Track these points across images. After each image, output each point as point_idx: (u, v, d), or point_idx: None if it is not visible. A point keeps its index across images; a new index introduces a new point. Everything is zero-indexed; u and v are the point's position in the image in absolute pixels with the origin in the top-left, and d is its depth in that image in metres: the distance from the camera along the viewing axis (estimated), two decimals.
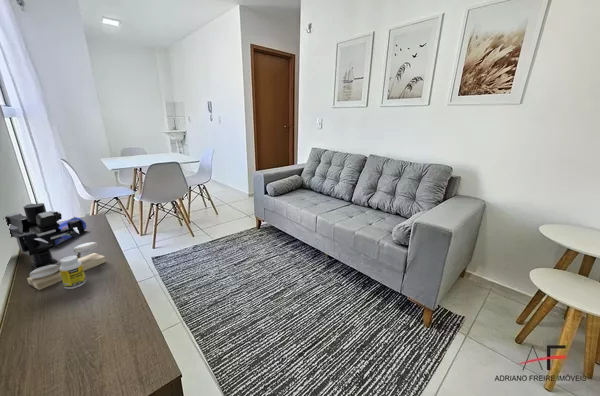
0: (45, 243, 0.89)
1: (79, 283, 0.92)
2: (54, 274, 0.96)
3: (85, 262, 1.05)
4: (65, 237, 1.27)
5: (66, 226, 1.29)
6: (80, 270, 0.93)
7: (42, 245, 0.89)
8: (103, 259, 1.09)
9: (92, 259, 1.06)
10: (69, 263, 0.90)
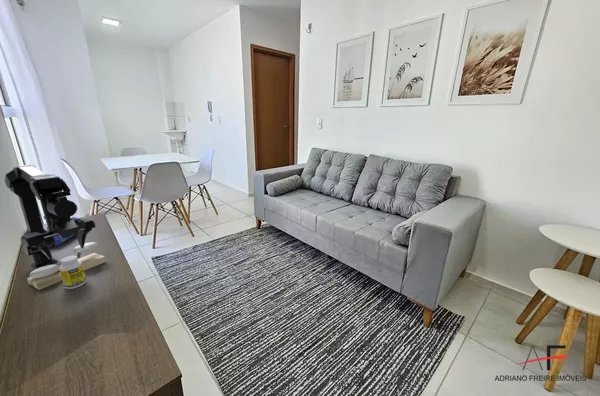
0: (48, 257, 0.86)
1: (79, 283, 0.92)
2: (54, 274, 0.96)
3: (85, 262, 1.05)
4: None
5: None
6: (80, 270, 0.93)
7: (44, 253, 0.85)
8: (103, 259, 1.09)
9: (92, 259, 1.06)
10: (69, 263, 0.90)
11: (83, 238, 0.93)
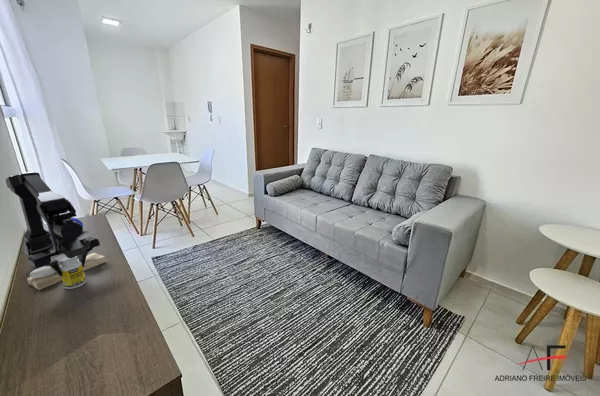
0: (59, 274, 0.89)
1: (79, 283, 0.92)
2: (54, 274, 0.96)
3: (85, 262, 1.05)
4: None
5: None
6: (80, 270, 0.93)
7: (55, 271, 0.88)
8: (103, 259, 1.09)
9: (92, 259, 1.06)
10: (69, 263, 0.90)
11: (83, 258, 0.94)
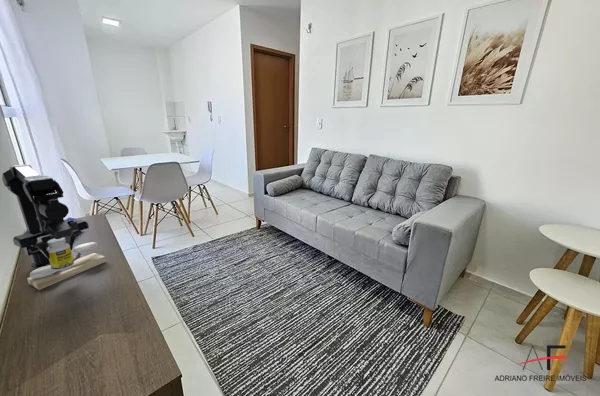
0: (46, 256, 0.88)
1: (67, 265, 0.91)
2: (54, 274, 0.96)
3: (85, 262, 1.05)
4: None
5: None
6: (68, 252, 0.91)
7: (42, 252, 0.87)
8: (103, 259, 1.09)
9: (92, 259, 1.06)
10: (56, 245, 0.88)
11: (72, 240, 0.93)
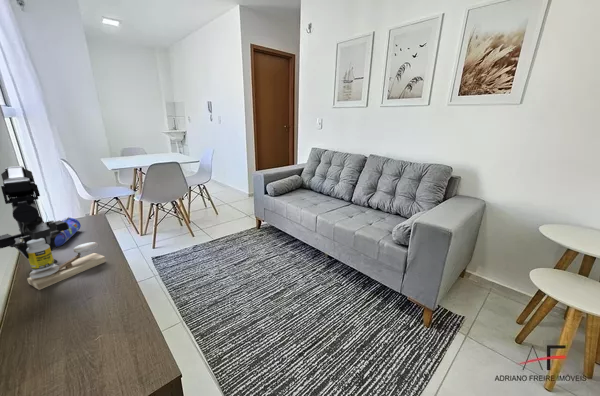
0: (25, 256, 0.89)
1: (47, 266, 0.93)
2: (54, 274, 0.96)
3: (85, 262, 1.05)
4: (69, 236, 1.28)
5: None
6: (48, 253, 0.93)
7: None
8: (103, 259, 1.09)
9: (92, 259, 1.06)
10: (35, 245, 0.90)
11: (52, 241, 0.94)
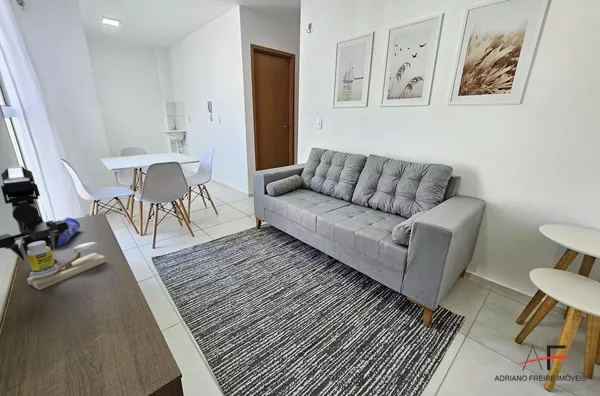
0: (20, 258, 0.88)
1: (47, 268, 0.93)
2: (54, 274, 0.96)
3: (85, 262, 1.05)
4: (69, 236, 1.28)
5: None
6: (49, 255, 0.93)
7: (16, 254, 0.88)
8: (103, 259, 1.09)
9: (92, 259, 1.06)
10: (36, 248, 0.90)
11: (56, 240, 0.95)
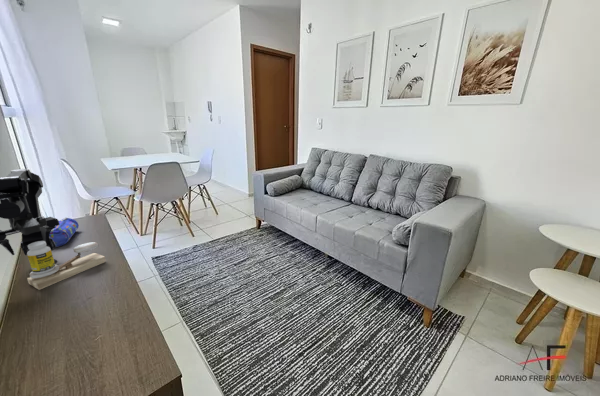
0: (11, 253, 0.91)
1: (47, 268, 0.93)
2: (54, 274, 0.96)
3: (85, 262, 1.05)
4: (70, 236, 1.28)
5: (67, 225, 1.30)
6: (49, 255, 0.93)
7: (6, 249, 0.90)
8: (103, 259, 1.09)
9: (92, 259, 1.06)
10: (36, 248, 0.90)
11: (47, 235, 0.98)
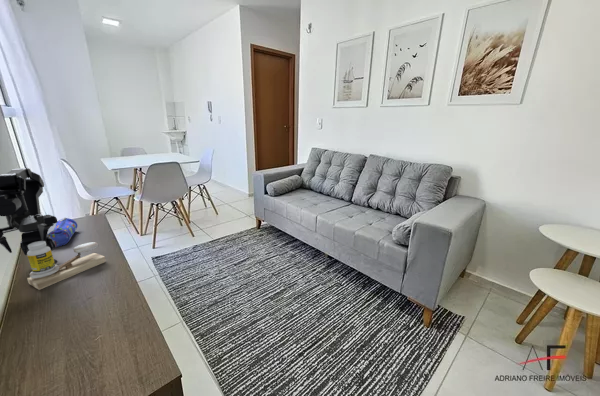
0: (8, 250, 0.90)
1: (47, 268, 0.93)
2: (54, 274, 0.96)
3: (85, 262, 1.05)
4: (71, 235, 1.28)
5: (67, 225, 1.30)
6: (49, 255, 0.93)
7: (4, 247, 0.90)
8: (103, 259, 1.09)
9: (92, 259, 1.06)
10: (36, 248, 0.90)
11: (45, 233, 0.98)
